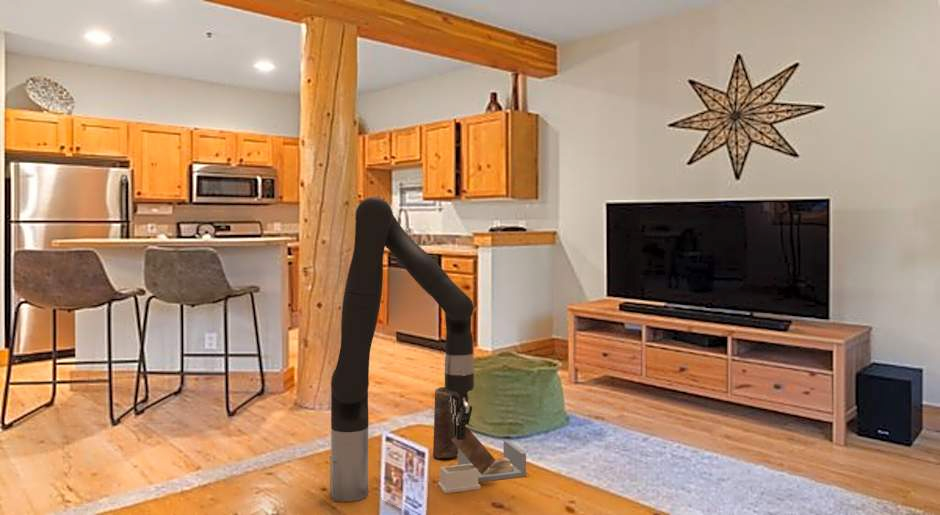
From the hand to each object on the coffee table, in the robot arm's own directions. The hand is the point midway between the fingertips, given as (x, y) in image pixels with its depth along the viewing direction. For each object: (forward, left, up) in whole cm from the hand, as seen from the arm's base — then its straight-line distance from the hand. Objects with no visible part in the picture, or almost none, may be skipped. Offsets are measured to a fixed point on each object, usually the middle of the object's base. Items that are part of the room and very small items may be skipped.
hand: (459, 438), depth 166 cm
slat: (+8, 0, -8) cm, 11 cm away
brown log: (+4, +24, -13) cm, 27 cm away
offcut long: (+12, +5, -11) cm, 17 cm away
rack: (+12, +8, -13) cm, 19 cm away
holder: (0, 0, -13) cm, 13 cm away
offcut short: (+12, +5, -10) cm, 16 cm away
